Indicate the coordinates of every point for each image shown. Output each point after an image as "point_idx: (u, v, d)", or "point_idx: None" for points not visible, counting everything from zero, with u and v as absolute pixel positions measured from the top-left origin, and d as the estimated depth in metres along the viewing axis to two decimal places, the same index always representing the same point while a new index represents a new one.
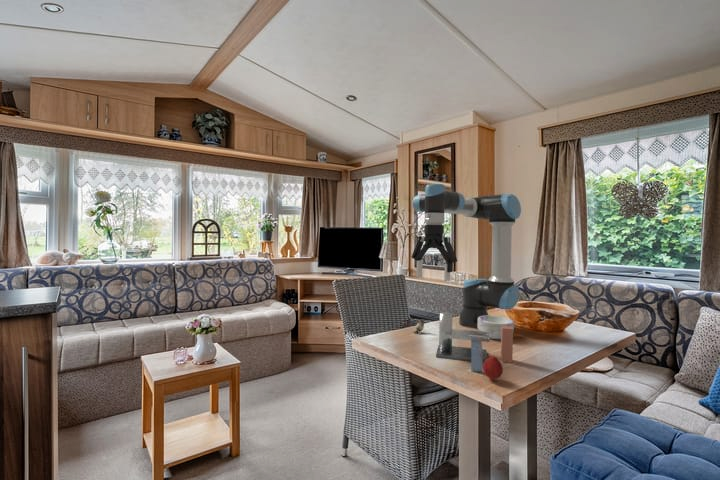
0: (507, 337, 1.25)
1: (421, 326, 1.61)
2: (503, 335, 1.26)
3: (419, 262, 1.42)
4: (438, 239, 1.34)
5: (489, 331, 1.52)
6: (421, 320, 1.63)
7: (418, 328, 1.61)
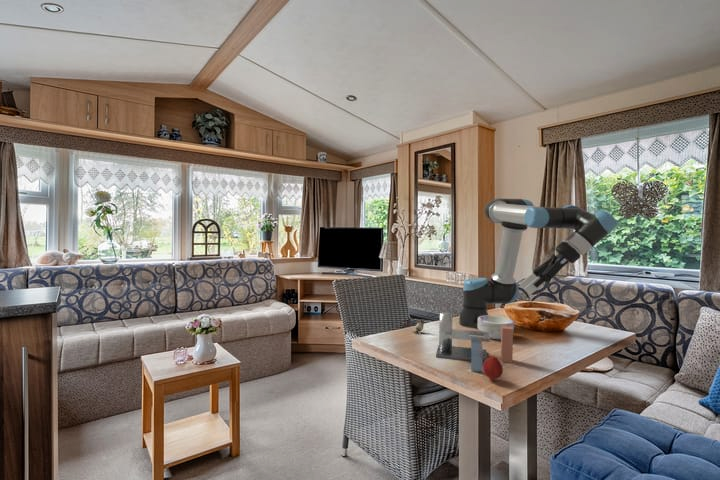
0: (507, 337, 1.25)
1: (421, 326, 1.61)
2: (503, 335, 1.26)
3: None
4: None
5: (489, 331, 1.52)
6: (421, 320, 1.63)
7: (418, 328, 1.61)
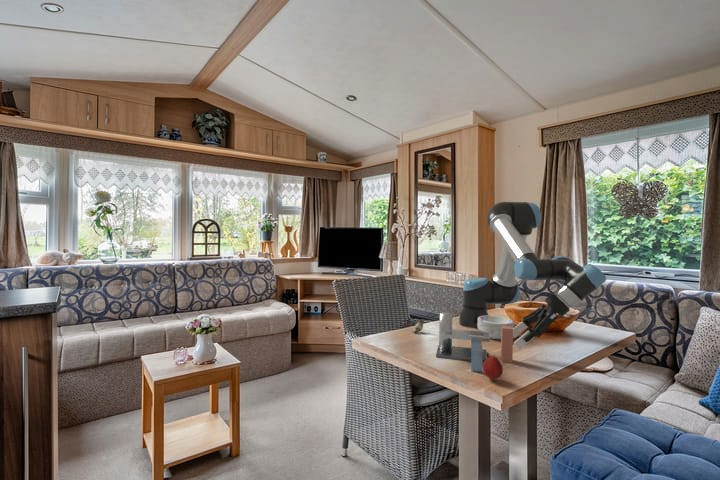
0: (507, 337, 1.25)
1: (420, 326, 1.61)
2: (503, 335, 1.26)
3: None
4: None
5: (489, 331, 1.52)
6: (420, 320, 1.63)
7: (417, 328, 1.61)
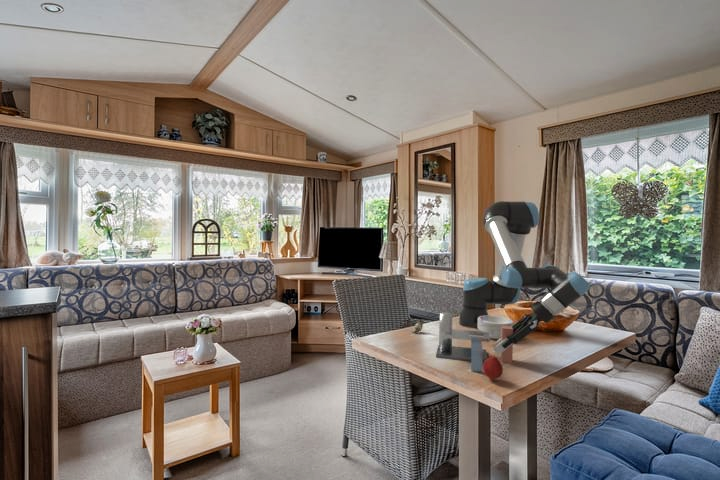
0: None
1: (420, 326, 1.61)
2: (503, 335, 1.26)
3: None
4: None
5: (489, 331, 1.52)
6: (420, 320, 1.63)
7: (417, 328, 1.61)
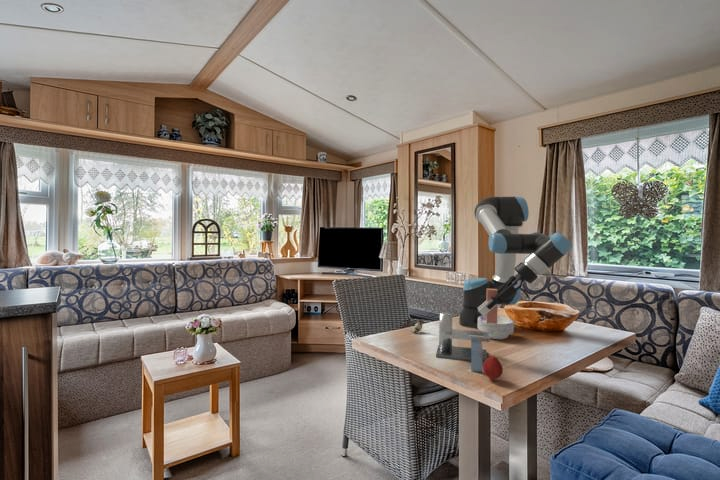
0: None
1: (420, 326, 1.61)
2: (488, 296, 1.27)
3: None
4: None
5: (489, 331, 1.52)
6: (419, 320, 1.63)
7: (417, 328, 1.61)
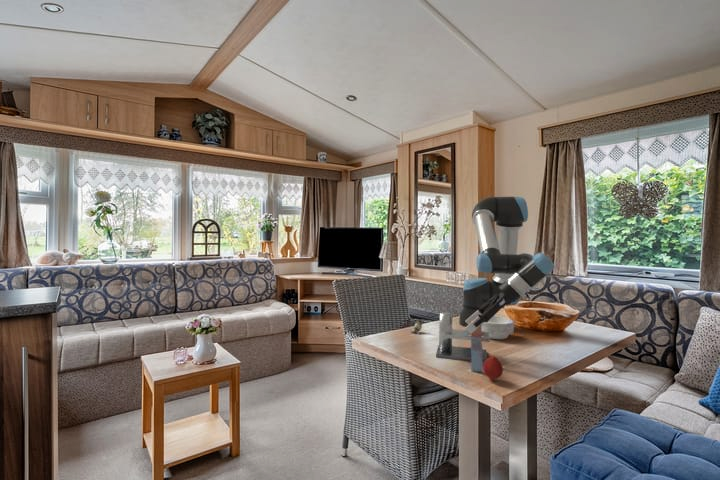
0: (476, 330, 1.30)
1: (419, 326, 1.61)
2: None
3: None
4: None
5: (489, 331, 1.52)
6: (419, 320, 1.63)
7: (416, 328, 1.61)
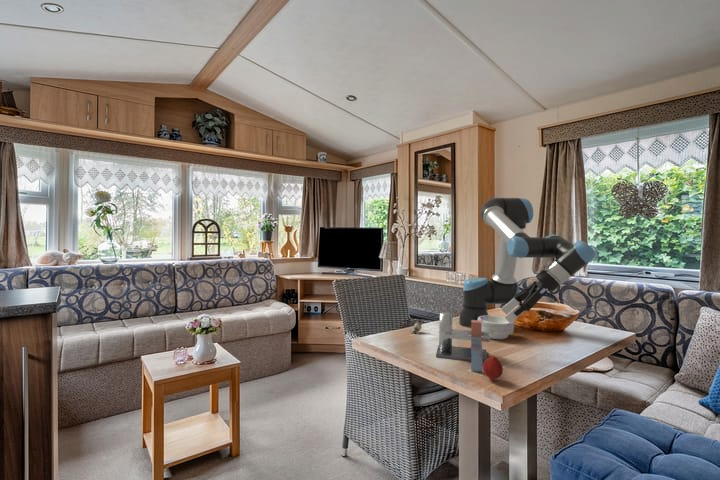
0: (476, 330, 1.30)
1: (419, 326, 1.61)
2: (472, 328, 1.30)
3: None
4: None
5: (489, 331, 1.52)
6: (419, 320, 1.63)
7: (416, 328, 1.61)
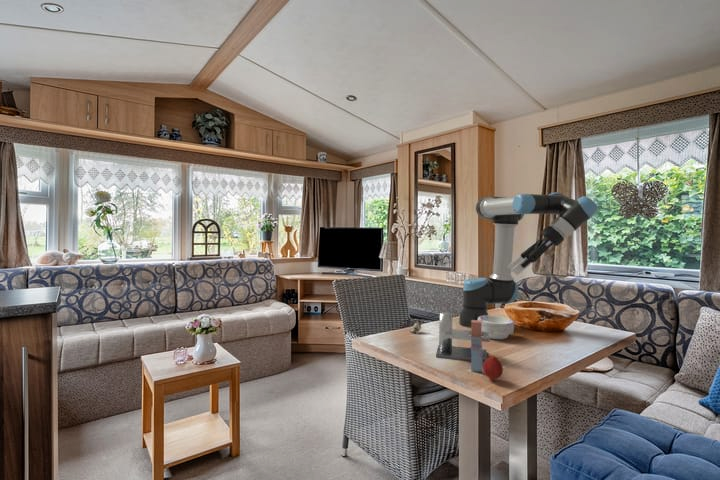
0: (476, 330, 1.30)
1: (419, 326, 1.61)
2: (472, 328, 1.30)
3: None
4: None
5: (489, 331, 1.52)
6: (418, 320, 1.63)
7: (416, 328, 1.61)
